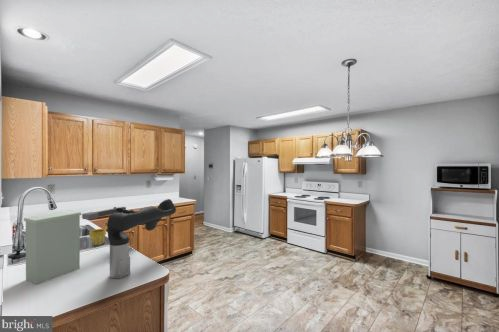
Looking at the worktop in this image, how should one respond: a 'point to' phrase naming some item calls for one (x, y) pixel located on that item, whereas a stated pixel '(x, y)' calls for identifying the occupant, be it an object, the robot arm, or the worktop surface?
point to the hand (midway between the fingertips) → (115, 208)
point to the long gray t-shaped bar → (100, 213)
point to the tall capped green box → (52, 245)
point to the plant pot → (98, 236)
